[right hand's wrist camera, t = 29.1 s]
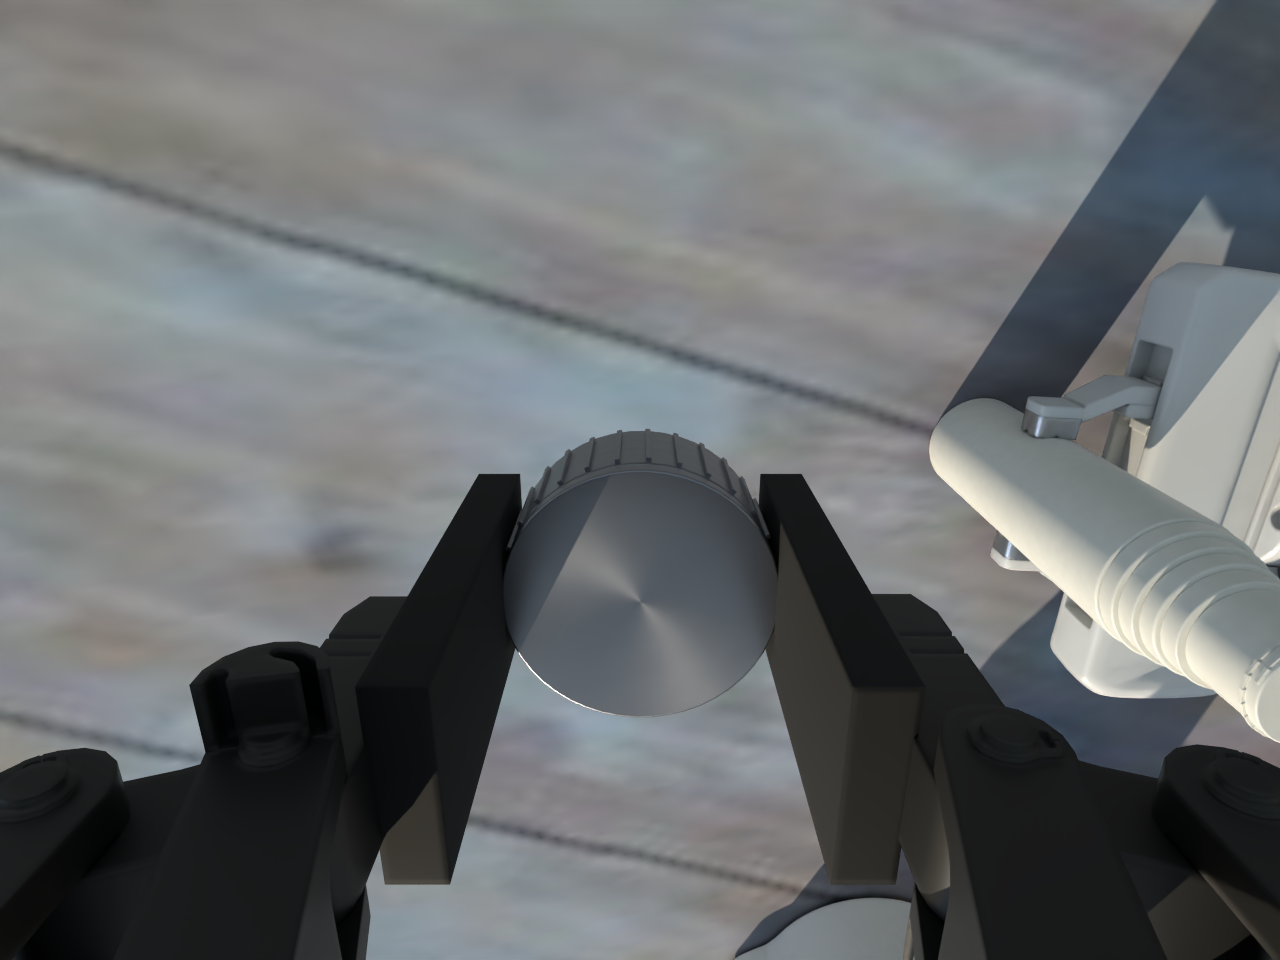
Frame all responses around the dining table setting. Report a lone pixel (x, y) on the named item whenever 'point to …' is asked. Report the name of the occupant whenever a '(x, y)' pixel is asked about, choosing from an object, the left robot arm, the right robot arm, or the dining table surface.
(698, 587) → the cap
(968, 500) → the bottle
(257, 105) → the dining table surface
